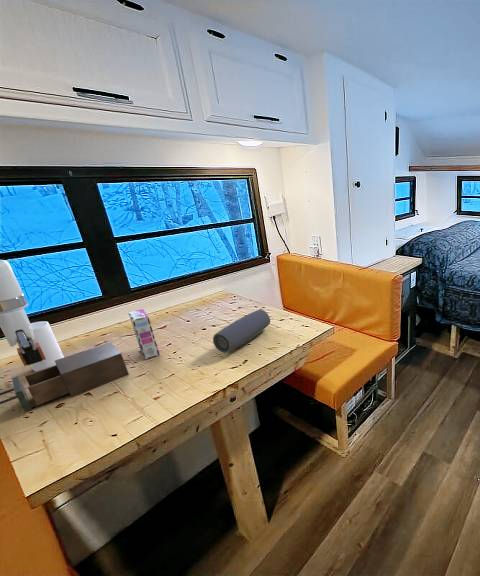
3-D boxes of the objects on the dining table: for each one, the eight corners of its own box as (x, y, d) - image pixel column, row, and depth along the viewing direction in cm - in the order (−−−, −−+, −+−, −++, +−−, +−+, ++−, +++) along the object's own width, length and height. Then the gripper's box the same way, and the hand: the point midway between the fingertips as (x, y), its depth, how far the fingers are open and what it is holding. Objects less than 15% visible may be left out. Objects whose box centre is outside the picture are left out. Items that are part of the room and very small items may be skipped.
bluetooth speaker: (256, 327, 137) (252, 307, 134) (273, 330, 134) (269, 309, 131) (214, 353, 117) (209, 330, 114) (233, 357, 114) (228, 334, 111)
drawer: (-14, 427, 83) (-26, 407, 81) (-15, 409, 90) (-26, 390, 87) (87, 387, 98) (79, 369, 96) (79, 374, 105) (72, 357, 102)
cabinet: (71, 397, 95) (60, 374, 92) (64, 382, 102) (54, 360, 99) (128, 374, 106) (121, 353, 103) (118, 362, 113) (111, 342, 110)
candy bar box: (161, 355, 117) (148, 316, 112) (145, 360, 114) (131, 321, 108) (155, 344, 125) (143, 308, 119) (140, 349, 121) (127, 312, 116)
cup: (49, 371, 108) (30, 331, 103) (26, 372, 108) (6, 332, 103) (71, 358, 116) (55, 321, 111) (50, 359, 116) (32, 321, 111)
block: (24, 366, 89) (17, 353, 87) (23, 361, 91) (16, 348, 90) (46, 359, 92) (40, 346, 90) (44, 354, 94) (38, 342, 93)
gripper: (-16, 301, 87) (13, 356, 94) (-14, 316, 77) (18, 376, 84) (23, 293, 93) (48, 345, 99) (29, 306, 83) (56, 363, 89)
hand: (34, 359), depth 91 cm, fingers closed on block, 4 cm apart
